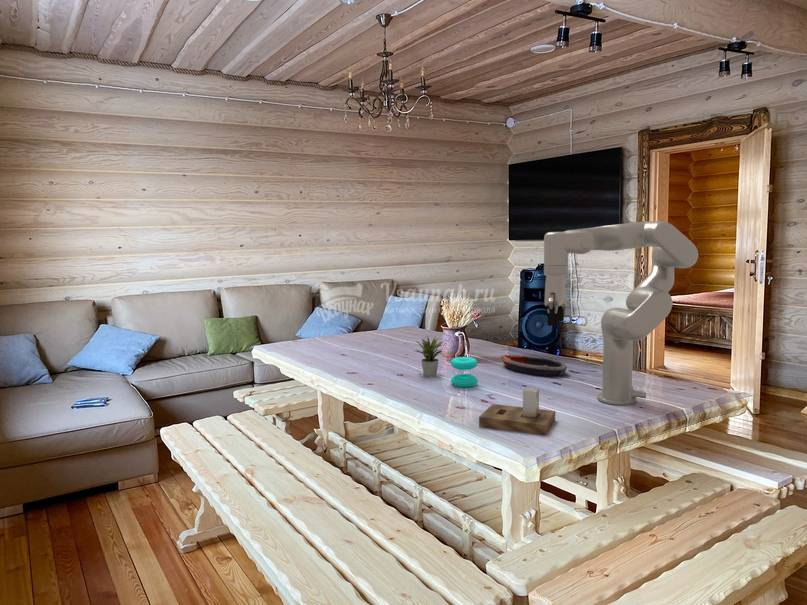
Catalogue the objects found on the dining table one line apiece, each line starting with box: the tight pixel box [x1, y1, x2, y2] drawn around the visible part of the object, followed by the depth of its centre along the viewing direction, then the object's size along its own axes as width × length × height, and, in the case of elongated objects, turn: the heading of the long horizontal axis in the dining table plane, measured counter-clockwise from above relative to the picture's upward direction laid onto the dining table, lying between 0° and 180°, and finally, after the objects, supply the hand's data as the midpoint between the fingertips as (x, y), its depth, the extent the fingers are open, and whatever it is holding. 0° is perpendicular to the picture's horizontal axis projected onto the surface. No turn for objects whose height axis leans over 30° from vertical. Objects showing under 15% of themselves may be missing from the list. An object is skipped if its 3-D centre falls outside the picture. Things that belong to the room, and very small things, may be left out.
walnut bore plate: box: [478, 403, 556, 436], centre depth 183 cm, size 20×14×3 cm
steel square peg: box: [522, 387, 540, 419], centre depth 181 cm, size 4×4×11 cm
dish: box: [500, 354, 568, 377], centre depth 248 cm, size 16×31×5 cm, turn 41°
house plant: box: [413, 335, 447, 377], centre depth 242 cm, size 14×14×16 cm
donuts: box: [450, 356, 478, 388], centre depth 228 cm, size 10×10×10 cm
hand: (555, 322), depth 195 cm, fingers open, 9 cm apart
